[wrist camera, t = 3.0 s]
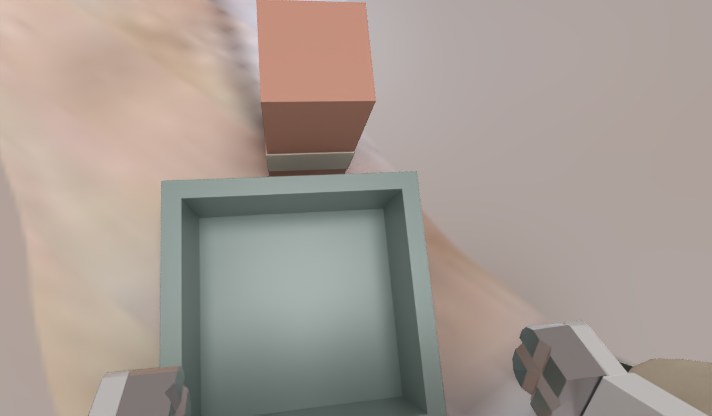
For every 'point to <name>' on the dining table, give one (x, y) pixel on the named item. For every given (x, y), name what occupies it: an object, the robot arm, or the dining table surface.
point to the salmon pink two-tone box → (313, 84)
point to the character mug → (680, 380)
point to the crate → (299, 296)
